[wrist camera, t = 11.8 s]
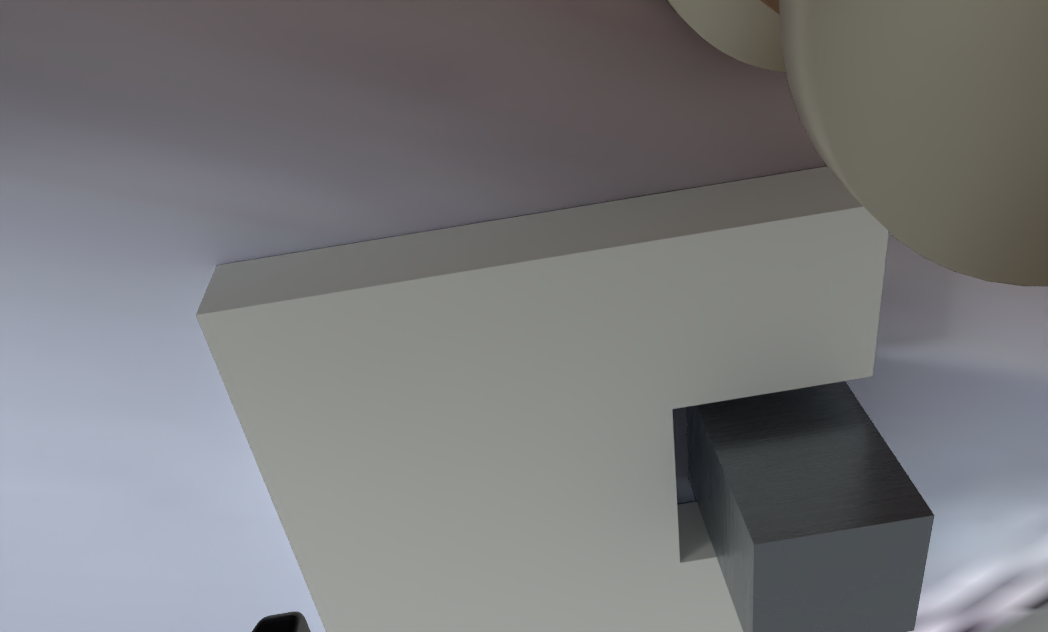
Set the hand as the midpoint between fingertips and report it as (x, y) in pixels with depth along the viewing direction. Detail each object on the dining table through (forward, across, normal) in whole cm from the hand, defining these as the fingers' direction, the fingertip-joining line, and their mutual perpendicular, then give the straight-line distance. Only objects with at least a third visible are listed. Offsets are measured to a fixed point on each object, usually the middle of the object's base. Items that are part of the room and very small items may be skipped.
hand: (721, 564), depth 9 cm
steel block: (+11, -4, +8) cm, 14 cm away
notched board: (+11, +1, +8) cm, 14 cm away
